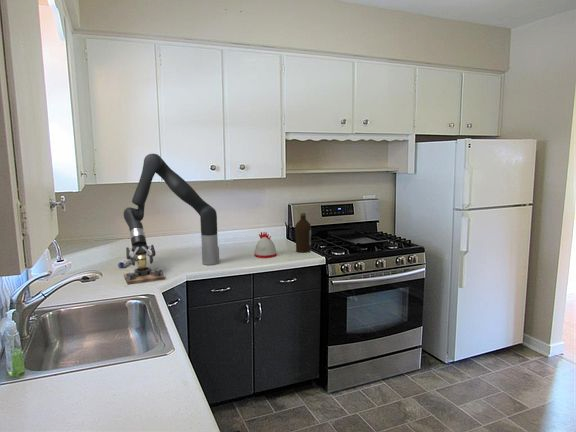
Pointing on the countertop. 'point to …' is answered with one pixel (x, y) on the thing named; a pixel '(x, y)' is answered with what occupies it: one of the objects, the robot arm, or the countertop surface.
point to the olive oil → (303, 235)
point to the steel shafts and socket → (144, 273)
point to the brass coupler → (141, 262)
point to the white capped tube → (125, 262)
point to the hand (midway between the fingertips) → (142, 263)
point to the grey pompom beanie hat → (265, 247)
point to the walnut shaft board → (144, 279)
